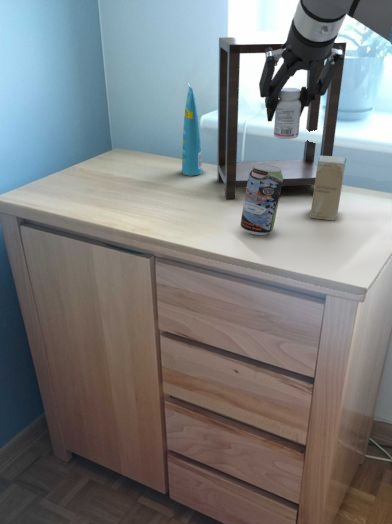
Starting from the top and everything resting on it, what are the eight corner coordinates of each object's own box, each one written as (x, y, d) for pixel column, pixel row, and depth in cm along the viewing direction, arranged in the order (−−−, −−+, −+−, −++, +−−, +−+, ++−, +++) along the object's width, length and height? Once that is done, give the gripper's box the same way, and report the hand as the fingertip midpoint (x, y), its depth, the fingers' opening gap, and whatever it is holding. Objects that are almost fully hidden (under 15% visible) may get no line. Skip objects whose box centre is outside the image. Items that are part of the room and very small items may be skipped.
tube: (179, 169, 137) (177, 83, 126) (199, 168, 138) (198, 82, 127) (185, 178, 131) (183, 89, 120) (205, 176, 132) (205, 88, 121)
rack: (327, 195, 120) (346, 42, 104) (226, 200, 118) (229, 44, 102) (309, 176, 131) (324, 35, 115) (217, 180, 130) (219, 37, 113)
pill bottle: (284, 132, 111) (288, 86, 106) (303, 136, 108) (308, 89, 103) (268, 136, 109) (271, 89, 104) (286, 140, 105) (290, 92, 101)
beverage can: (233, 231, 103) (235, 166, 97) (261, 222, 107) (265, 158, 101) (257, 242, 99) (261, 174, 93) (285, 231, 103) (291, 166, 96)
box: (309, 218, 109) (315, 160, 103) (312, 210, 112) (318, 154, 106) (336, 221, 107) (345, 162, 101) (339, 213, 111) (347, 156, 105)
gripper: (262, 46, 85) (239, 133, 108) (374, 43, 87) (328, 130, 110) (257, 3, 87) (236, 99, 110) (368, 2, 88) (324, 96, 111)
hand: (282, 114), depth 110 cm, fingers closed on pill bottle, 5 cm apart
